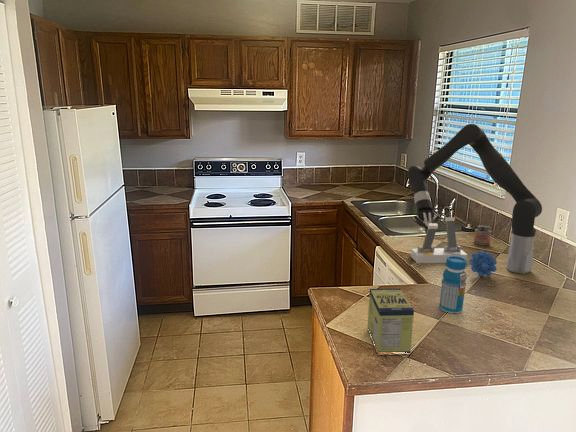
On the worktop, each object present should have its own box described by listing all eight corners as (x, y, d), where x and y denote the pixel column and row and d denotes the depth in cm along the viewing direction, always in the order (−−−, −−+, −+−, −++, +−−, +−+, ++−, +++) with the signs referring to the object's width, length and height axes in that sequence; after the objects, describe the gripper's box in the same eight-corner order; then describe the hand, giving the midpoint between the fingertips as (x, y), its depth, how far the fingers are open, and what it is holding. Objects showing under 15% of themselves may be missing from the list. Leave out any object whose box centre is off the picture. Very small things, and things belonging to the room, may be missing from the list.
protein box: (396, 329, 147) (400, 287, 143) (410, 355, 132) (415, 310, 128) (366, 329, 147) (369, 287, 142) (377, 356, 132) (380, 310, 127)
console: (458, 255, 213) (459, 242, 211) (466, 262, 204) (468, 249, 203) (410, 256, 212) (411, 243, 210) (416, 263, 203) (418, 250, 201)
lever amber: (429, 249, 208) (437, 223, 198) (430, 252, 206) (438, 225, 196) (420, 250, 207) (428, 223, 197) (421, 252, 206) (429, 225, 196)
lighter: (473, 243, 230) (475, 225, 227) (473, 241, 233) (476, 224, 230) (489, 245, 226) (492, 227, 224) (489, 244, 229) (492, 226, 226)
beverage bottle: (441, 313, 157) (447, 262, 151) (436, 302, 165) (442, 254, 160) (465, 315, 156) (472, 264, 150) (459, 304, 164) (465, 255, 158)
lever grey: (456, 251, 208) (453, 217, 210) (457, 251, 206) (455, 217, 209) (447, 251, 208) (444, 217, 210) (448, 251, 206) (446, 217, 208)
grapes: (469, 279, 186) (473, 253, 183) (466, 273, 192) (469, 247, 189) (498, 281, 184) (502, 255, 181) (493, 274, 191) (497, 249, 187)
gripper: (411, 198, 206) (418, 231, 198) (438, 198, 207) (446, 230, 199) (407, 206, 213) (413, 237, 205) (433, 206, 213) (440, 237, 205)
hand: (429, 234), depth 202 cm, fingers closed
